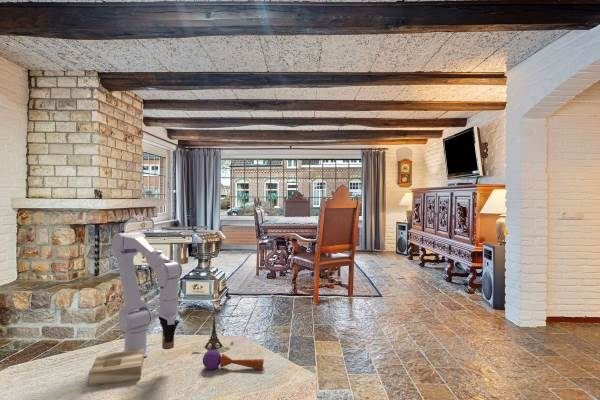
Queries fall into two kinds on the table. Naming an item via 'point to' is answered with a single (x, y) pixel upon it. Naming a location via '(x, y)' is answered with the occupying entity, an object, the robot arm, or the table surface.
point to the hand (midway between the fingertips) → (168, 339)
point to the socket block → (116, 367)
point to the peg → (167, 345)
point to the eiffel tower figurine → (214, 342)
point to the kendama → (228, 361)
